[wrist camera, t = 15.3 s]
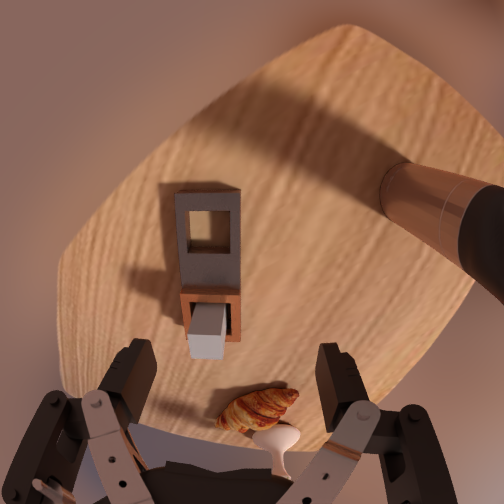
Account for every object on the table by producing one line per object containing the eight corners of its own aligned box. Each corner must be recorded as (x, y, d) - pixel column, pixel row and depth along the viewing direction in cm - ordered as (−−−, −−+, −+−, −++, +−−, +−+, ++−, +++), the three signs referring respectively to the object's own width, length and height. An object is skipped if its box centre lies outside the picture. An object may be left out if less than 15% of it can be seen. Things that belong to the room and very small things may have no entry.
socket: (240, 330, 43) (240, 346, 39) (191, 328, 43) (187, 344, 39) (240, 189, 34) (239, 195, 31) (179, 190, 34) (171, 195, 31)
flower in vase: (287, 443, 58) (295, 525, 35) (245, 438, 56) (245, 525, 33) (310, 418, 53) (327, 513, 30) (264, 413, 52) (269, 516, 29)
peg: (227, 314, 42) (222, 359, 32) (202, 314, 42) (191, 358, 32) (226, 292, 40) (220, 335, 31) (199, 291, 40) (187, 334, 31)
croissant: (226, 412, 57) (235, 442, 52) (195, 411, 50) (204, 445, 45) (301, 377, 52) (315, 410, 46) (277, 373, 45) (292, 413, 39)
